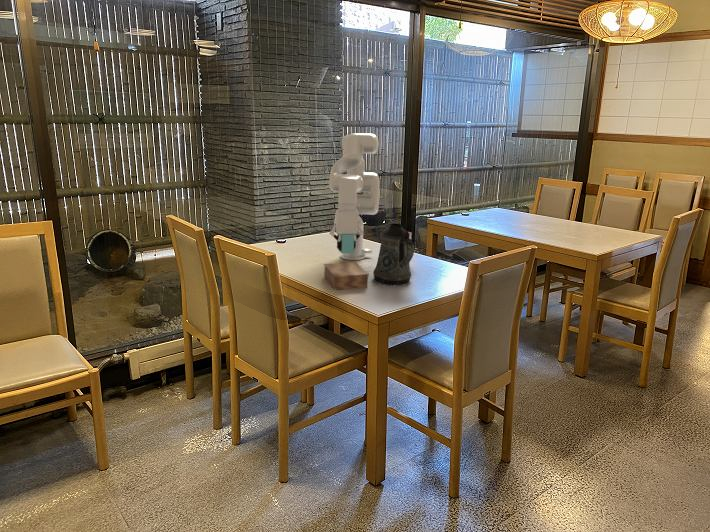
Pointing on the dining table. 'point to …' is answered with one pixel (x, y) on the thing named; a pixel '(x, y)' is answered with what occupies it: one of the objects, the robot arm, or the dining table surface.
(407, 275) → the beer stein
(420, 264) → the dining table surface
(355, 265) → the walnut box
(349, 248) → the teal block
